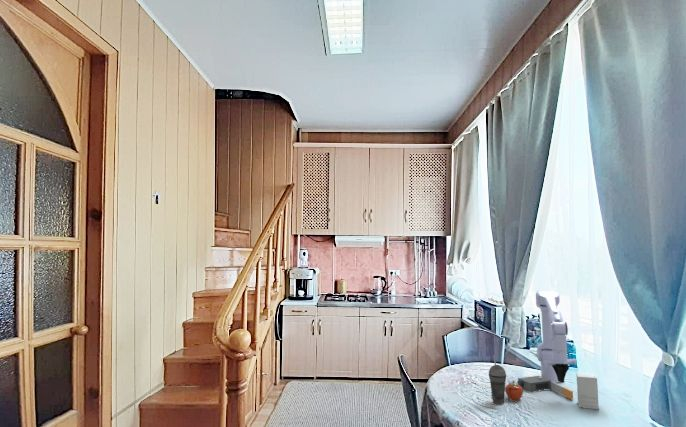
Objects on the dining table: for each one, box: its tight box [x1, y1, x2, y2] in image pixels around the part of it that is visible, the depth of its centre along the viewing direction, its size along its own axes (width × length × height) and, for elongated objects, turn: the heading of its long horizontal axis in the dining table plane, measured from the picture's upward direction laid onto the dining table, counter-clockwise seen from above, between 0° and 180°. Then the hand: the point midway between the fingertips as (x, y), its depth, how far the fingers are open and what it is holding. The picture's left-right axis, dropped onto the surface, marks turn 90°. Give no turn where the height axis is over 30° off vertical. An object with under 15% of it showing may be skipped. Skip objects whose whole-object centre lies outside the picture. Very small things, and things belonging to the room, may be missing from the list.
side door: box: [550, 381, 574, 401], centre depth 201 cm, size 15×1×4 cm, turn 9°
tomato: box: [505, 380, 524, 402], centre depth 196 cm, size 7×7×8 cm
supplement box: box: [576, 371, 600, 410], centre depth 187 cm, size 7×7×13 cm
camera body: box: [516, 375, 552, 393], centre depth 210 cm, size 13×8×5 cm, turn 108°
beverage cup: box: [488, 354, 507, 405], centre depth 193 cm, size 7×7×20 cm
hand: (560, 381), depth 195 cm, fingers closed
